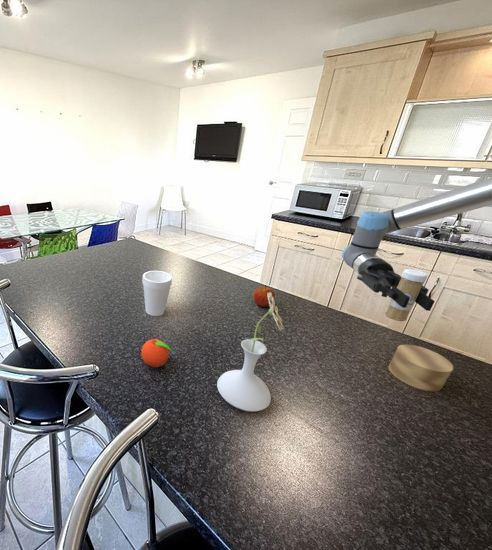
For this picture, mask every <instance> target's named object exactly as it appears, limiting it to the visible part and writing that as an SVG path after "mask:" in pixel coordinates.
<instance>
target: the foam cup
mask: <svg viewBox="0 0 492 550" xmlns="http://www.w3.org/2000/svg"><path fill="white" fill-rule="evenodd" d="M172 282H173V276H172V274H170V273H168V272H166V271H163V270H149V271H146V272H144V273H143V274H142V286H143V296H144V308H145V313H146V314H147V315H149V316H152V317H160V316H162V315H164V313H165V312H166V311H165V310H166V307H167V303H168V299H169V294H170V289H171V286H172V284H173V283H172Z"/></svg>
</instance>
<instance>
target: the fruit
mask: <svg viewBox="0 0 492 550" xmlns="http://www.w3.org/2000/svg"><path fill="white" fill-rule="evenodd" d="M269 292H270V293H272V297H274V300H275V299H276V295H275V292H274V291H273V289H271V288H270V287H267V285H266V284H265V285H264V286H260V287H257V288H256V289H255V290H254V292H253V294H252V299H253V302H254V303H255V305H257V306H258V307H261V308H265V307H266V308H267V307H270V305H269V301H268V296H267V293H269Z"/></svg>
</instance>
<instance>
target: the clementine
mask: <svg viewBox="0 0 492 550" xmlns="http://www.w3.org/2000/svg"><path fill="white" fill-rule="evenodd" d="M140 351H141V353H140V355H141V358H142V360H143V362H144V363H145V364H146V365H147V366H149V367H151V368H159V367H162V366H163V365H164V364H165V363H166V362H167V361H168V360H169V356H170V355H169V354H170V353H169V352H171V354H172V355H173V354H174V353H173V350H172V349H171V347H169V345H167V343H165V342H164V341H162V340H161V339H158V338H153V339H151V338H150V339H149V340H146V342H145V343H144V344H143V345H142V347H141V350H140Z"/></svg>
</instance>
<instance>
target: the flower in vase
mask: <svg viewBox="0 0 492 550" xmlns="http://www.w3.org/2000/svg"><path fill="white" fill-rule="evenodd" d="M267 296H268V301H269V305H270V306H269V309H268V311H267V312H266V313H265V314H264V315H263V316H262V317H261V319H259V320H257V322H256V327H255V329H254V335H253V338H247V339H244V340H243V339H242V341H241V342H240V346H241V348H242V349H243V353H244V359H243V360H244V361H243V365H242V368H241V369H231V370H228V371H225V372H223V373H222V374H221V375H220V376H219V378H218V379H217V382H216V387H217V390H218V392H219V394H220V396H221V397H222V399H223V400H224V401H225V402H226V403H227V404H229V405H230V406H232V407H234V408H236V409H238V410H241V411H244V412H250V413H251V412H252V413H253V412H259V411H263V410H265V409H267V408H268V407H269V405H270V404H271V402H272V401H271V400H272V398H271V397H272V396H271V392H270V389H269V387H268V386H267V384H266V383H265V382H264V381H263V380H262V379H261V378H260V377H259V376H257V375H256V374H255V367H256V364H257V362H258V360H259V359H260V358H261V356H262V355H265V354H266V353H267V351H268V348H267V346H266V345H265V344H264V343H263V342H261V341H264V338H263V337H257V332H258V334H261V333H262V325H261V323H262V322H263V321H264V319H265V318H266V317H267V316H268V315H271V316H273V319H274V322H275V324H276V326H277V328H278V329H279V331H280V332H281V331H283V330H284V329H285V327H284V325H283V323H282V322H283V319H282V317H281V316H280V314H279V308H278V306H277V305H276V303H275V299H274V297H272V293H270V292H269V293H267Z"/></svg>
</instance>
